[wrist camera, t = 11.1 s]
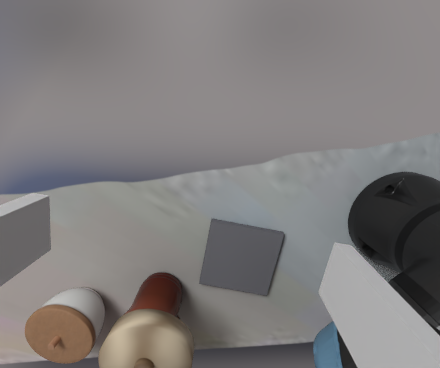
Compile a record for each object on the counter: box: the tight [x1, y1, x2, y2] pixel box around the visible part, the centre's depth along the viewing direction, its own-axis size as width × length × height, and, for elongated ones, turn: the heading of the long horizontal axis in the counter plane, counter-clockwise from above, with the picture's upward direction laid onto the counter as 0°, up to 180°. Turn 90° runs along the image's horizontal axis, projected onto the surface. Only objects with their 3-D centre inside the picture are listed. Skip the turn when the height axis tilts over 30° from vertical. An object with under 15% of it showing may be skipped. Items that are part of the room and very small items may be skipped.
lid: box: [99, 309, 194, 368], centre depth 32 cm, size 12×12×4 cm
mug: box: [124, 272, 182, 319], centre depth 39 cm, size 12×9×10 cm
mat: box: [199, 219, 284, 296], centre depth 41 cm, size 12×12×1 cm
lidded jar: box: [25, 287, 105, 363], centre depth 40 cm, size 11×11×9 cm
